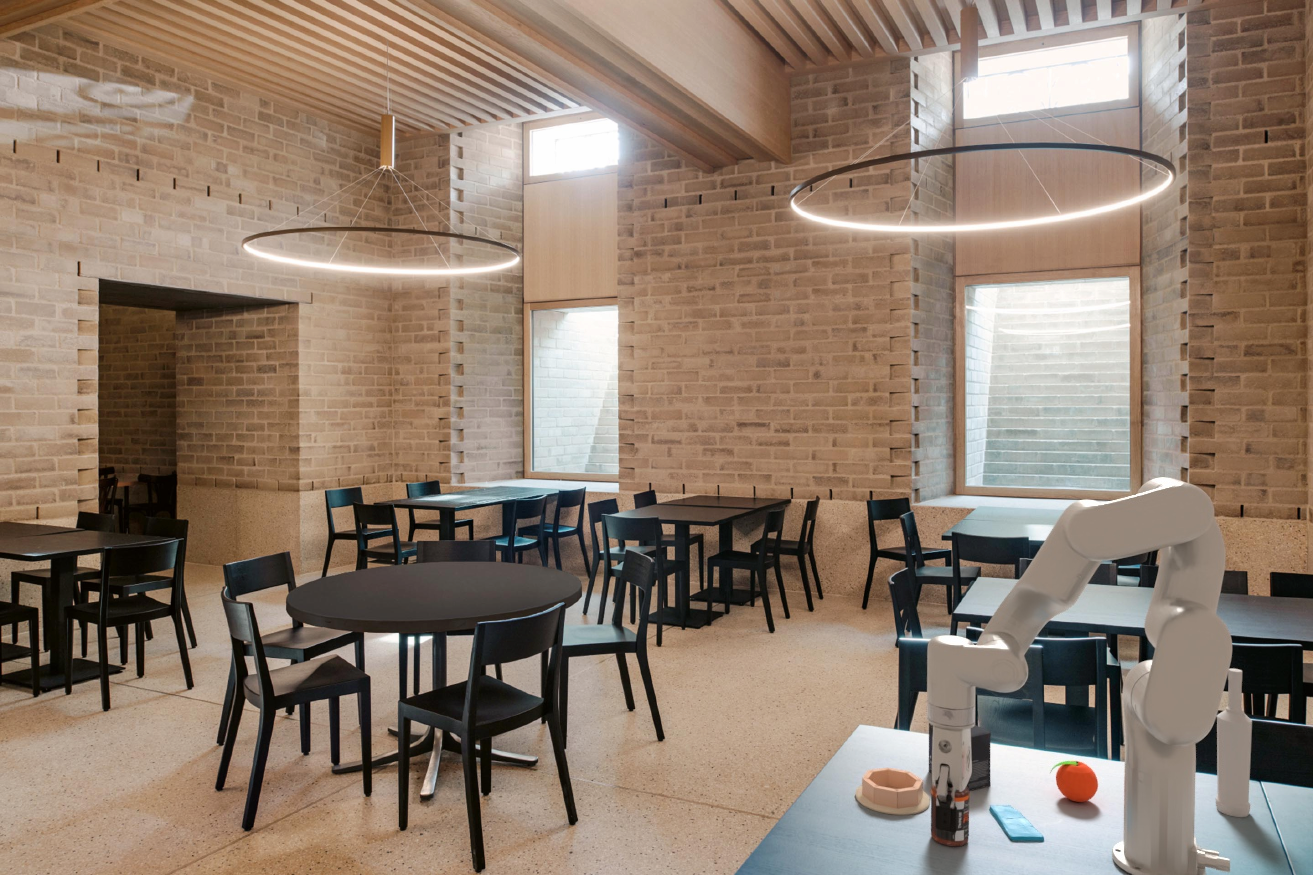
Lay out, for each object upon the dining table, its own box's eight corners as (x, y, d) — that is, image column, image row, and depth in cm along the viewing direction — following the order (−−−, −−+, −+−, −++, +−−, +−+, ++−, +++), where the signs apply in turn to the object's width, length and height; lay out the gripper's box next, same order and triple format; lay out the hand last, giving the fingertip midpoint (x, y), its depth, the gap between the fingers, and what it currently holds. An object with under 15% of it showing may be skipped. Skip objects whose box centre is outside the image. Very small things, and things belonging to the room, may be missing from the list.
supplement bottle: (971, 849, 144) (972, 779, 144) (932, 846, 146) (933, 776, 145) (966, 832, 150) (966, 765, 150) (929, 829, 151) (929, 762, 151)
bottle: (1216, 813, 157) (1219, 671, 156) (1214, 802, 162) (1216, 664, 161) (1251, 820, 155) (1254, 675, 154) (1248, 808, 159) (1251, 668, 158)
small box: (925, 771, 176) (926, 718, 175) (951, 765, 178) (952, 713, 178) (965, 792, 166) (966, 736, 166) (992, 786, 169) (992, 730, 168)
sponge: (1022, 805, 159) (988, 800, 159) (1047, 838, 147) (1011, 833, 147) (1020, 814, 159) (987, 809, 159) (1046, 847, 147) (1009, 842, 147)
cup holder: (936, 792, 166) (936, 773, 166) (921, 820, 154) (921, 800, 154) (866, 778, 172) (866, 760, 172) (846, 805, 161) (847, 785, 160)
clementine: (1053, 805, 160) (1053, 766, 160) (1046, 789, 167) (1046, 751, 167) (1102, 810, 158) (1102, 770, 158) (1092, 793, 165) (1093, 755, 165)
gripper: (965, 733, 138) (964, 849, 138) (982, 701, 153) (981, 805, 154) (916, 725, 141) (915, 838, 142) (937, 694, 157) (936, 797, 157)
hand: (949, 820), depth 148 cm, fingers closed on supplement bottle, 5 cm apart
